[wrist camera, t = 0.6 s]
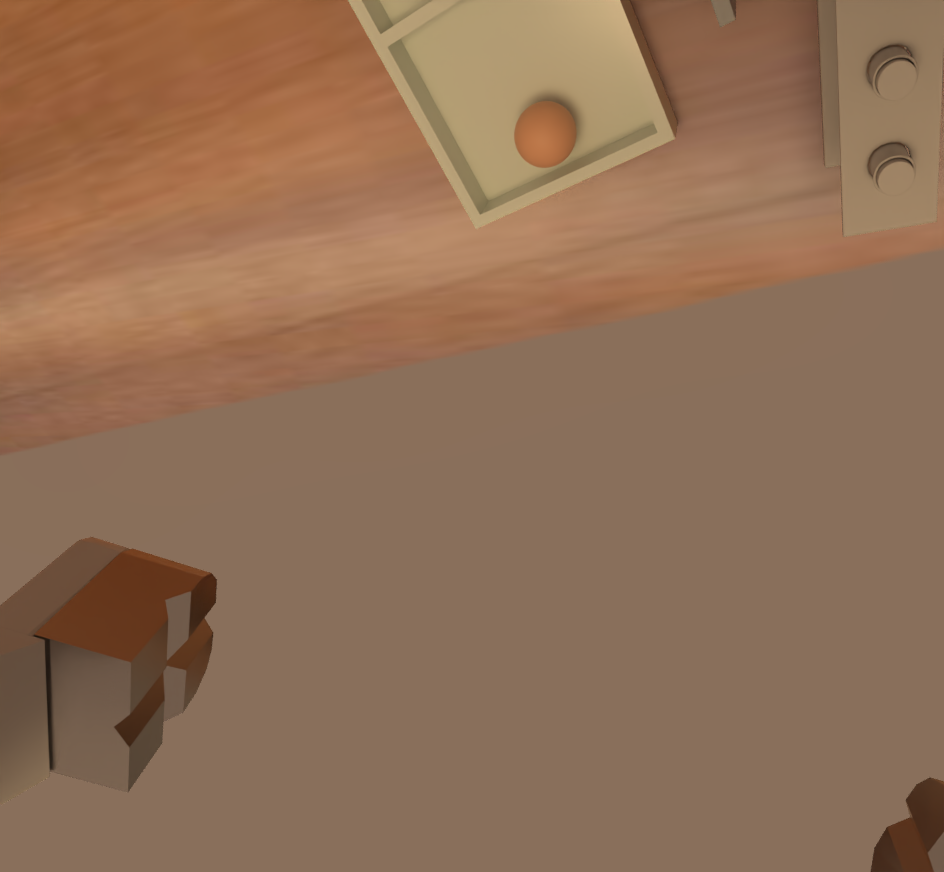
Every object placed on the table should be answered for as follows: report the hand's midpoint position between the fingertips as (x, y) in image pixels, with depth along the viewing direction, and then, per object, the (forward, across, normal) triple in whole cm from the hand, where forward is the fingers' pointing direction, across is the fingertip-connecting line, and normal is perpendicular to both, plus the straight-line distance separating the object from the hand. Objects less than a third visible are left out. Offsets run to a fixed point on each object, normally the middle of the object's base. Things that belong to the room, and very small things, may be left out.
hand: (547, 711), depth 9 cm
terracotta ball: (+48, +4, -4) cm, 48 cm away
